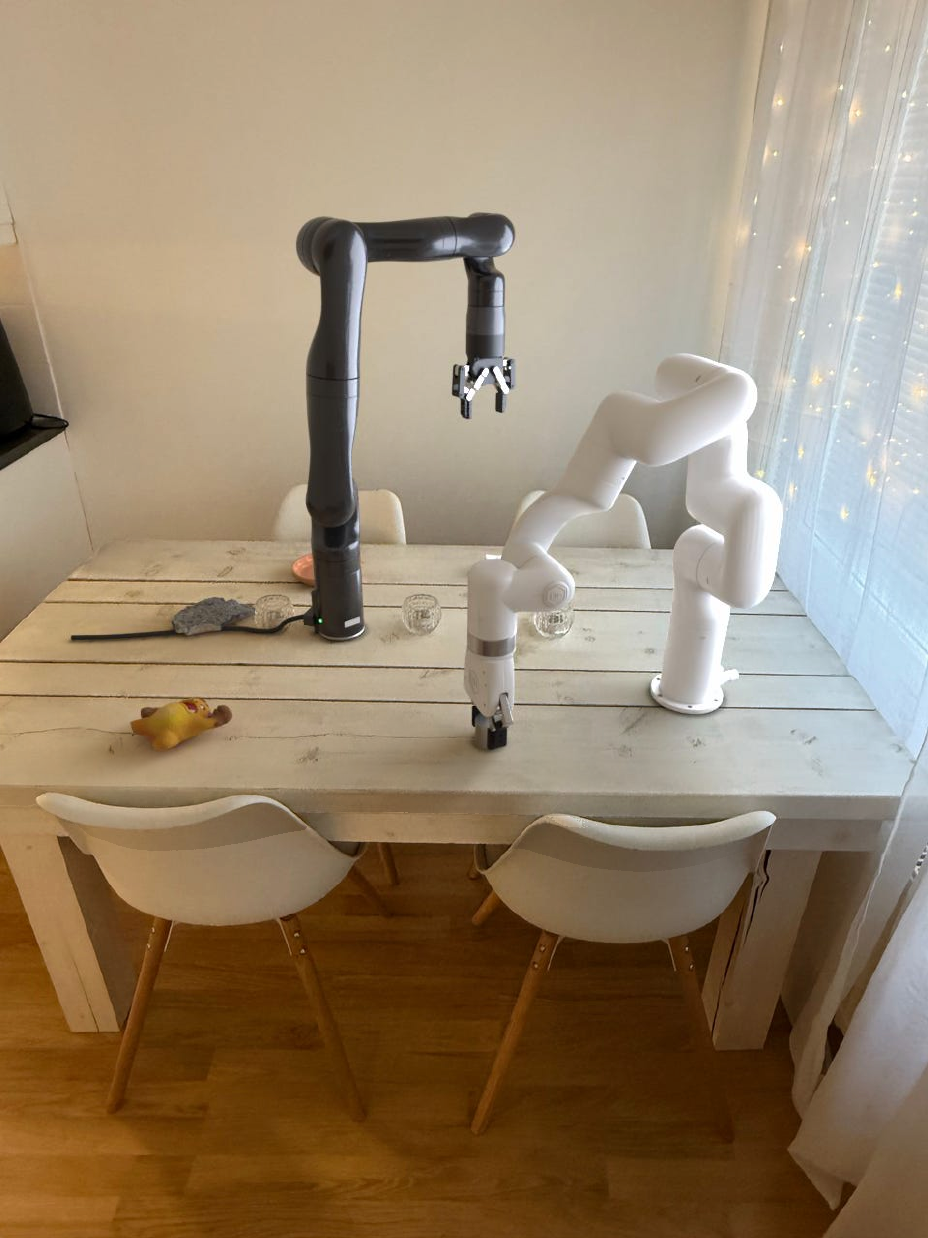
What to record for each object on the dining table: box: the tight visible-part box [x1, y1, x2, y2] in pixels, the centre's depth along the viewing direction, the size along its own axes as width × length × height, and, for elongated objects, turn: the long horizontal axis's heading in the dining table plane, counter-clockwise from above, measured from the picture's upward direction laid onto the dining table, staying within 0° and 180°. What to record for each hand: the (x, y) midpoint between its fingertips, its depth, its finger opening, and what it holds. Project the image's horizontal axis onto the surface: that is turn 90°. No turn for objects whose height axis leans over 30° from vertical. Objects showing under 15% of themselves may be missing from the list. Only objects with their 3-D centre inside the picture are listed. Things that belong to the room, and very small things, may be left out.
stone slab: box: [170, 596, 256, 637], centre depth 168 cm, size 12×17×3 cm
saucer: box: [290, 552, 362, 588], centre depth 186 cm, size 16×16×3 cm
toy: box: [129, 697, 233, 751], centre depth 133 cm, size 11×6×15 cm
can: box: [474, 713, 502, 751], centre depth 132 cm, size 4×4×4 cm
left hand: (483, 415), depth 162 cm, fingers open, 8 cm apart
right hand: (488, 734), depth 133 cm, fingers open, 5 cm apart
